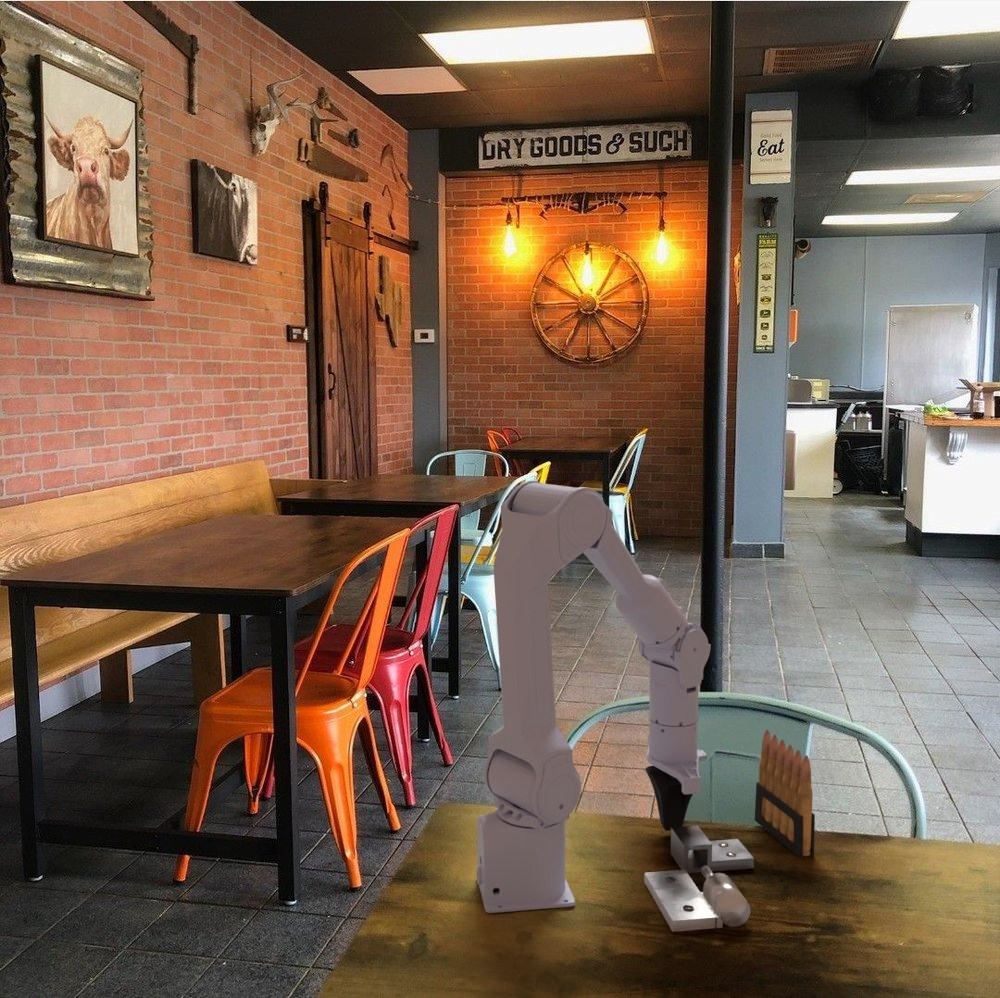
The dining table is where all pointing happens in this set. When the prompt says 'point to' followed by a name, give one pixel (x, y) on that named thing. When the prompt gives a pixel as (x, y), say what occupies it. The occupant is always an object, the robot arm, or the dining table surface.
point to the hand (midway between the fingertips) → (671, 827)
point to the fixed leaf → (697, 900)
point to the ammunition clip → (785, 796)
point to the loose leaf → (707, 851)
